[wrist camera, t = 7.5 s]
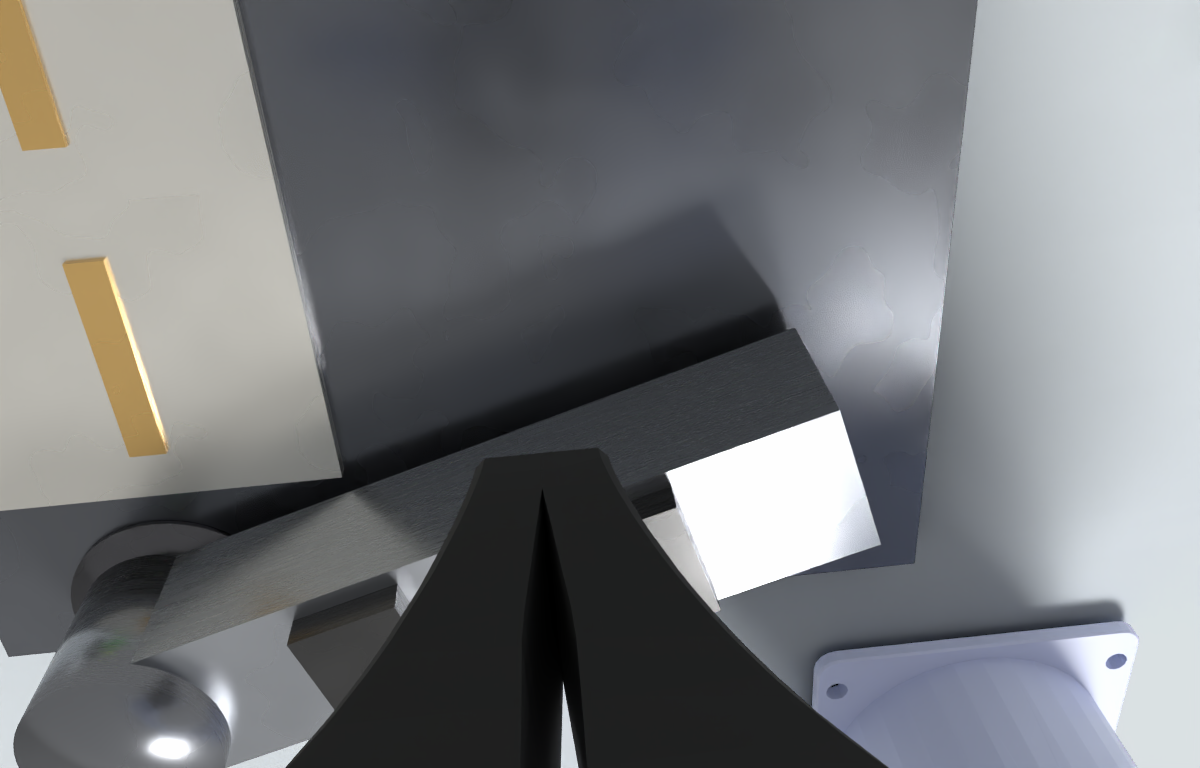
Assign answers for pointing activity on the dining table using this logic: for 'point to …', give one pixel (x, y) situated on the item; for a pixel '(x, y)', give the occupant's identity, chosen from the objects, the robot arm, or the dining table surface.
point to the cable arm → (406, 552)
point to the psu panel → (439, 244)
